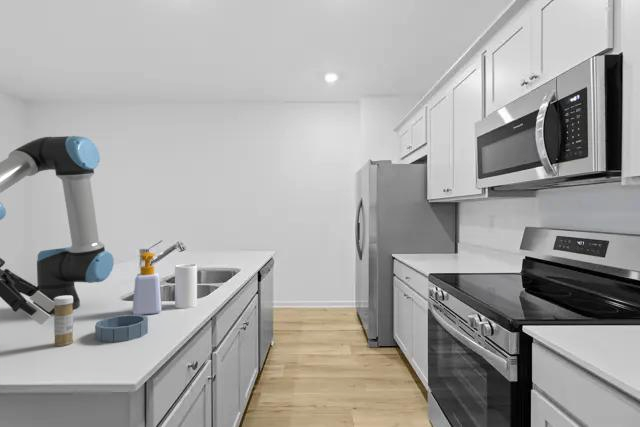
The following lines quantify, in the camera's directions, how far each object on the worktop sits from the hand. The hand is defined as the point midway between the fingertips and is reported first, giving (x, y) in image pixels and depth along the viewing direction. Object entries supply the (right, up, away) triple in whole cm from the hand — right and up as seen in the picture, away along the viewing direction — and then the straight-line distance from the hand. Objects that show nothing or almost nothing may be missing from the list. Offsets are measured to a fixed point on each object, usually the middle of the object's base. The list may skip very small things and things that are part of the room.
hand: (50, 314), depth 104 cm
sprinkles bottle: (+2, -9, +2) cm, 10 cm away
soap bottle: (+11, -9, +34) cm, 37 cm away
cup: (+22, -9, +45) cm, 51 cm away
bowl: (+14, -9, +11) cm, 20 cm away
